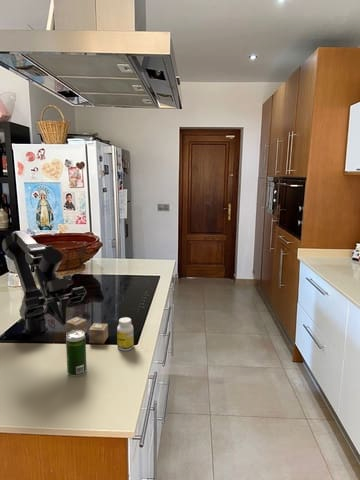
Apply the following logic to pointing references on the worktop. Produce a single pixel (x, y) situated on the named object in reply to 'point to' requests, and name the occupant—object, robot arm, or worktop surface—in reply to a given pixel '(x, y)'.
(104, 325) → the marked cube
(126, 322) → the supplement bottle
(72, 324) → the marked cube
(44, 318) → the robot arm
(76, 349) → the beer can
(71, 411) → the worktop surface
